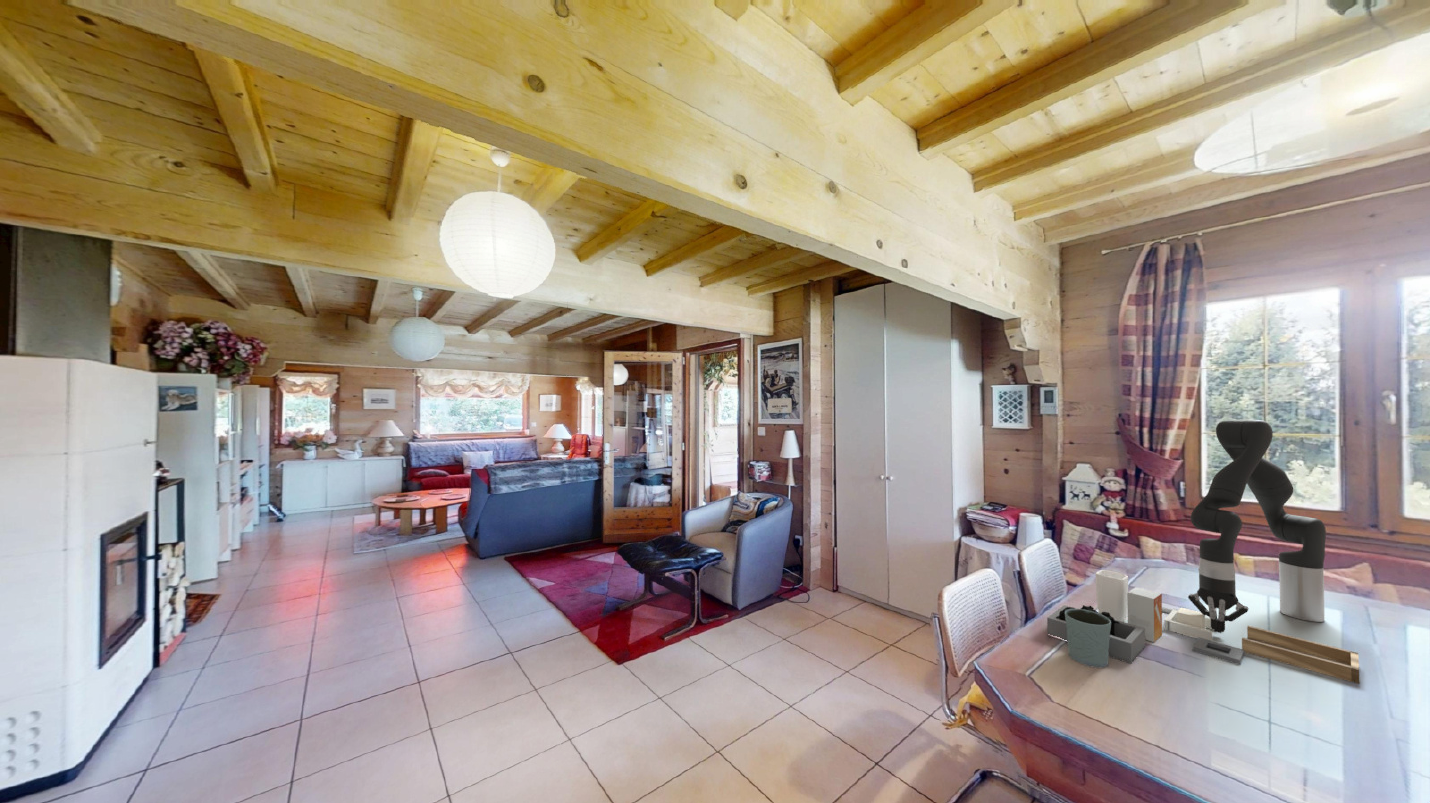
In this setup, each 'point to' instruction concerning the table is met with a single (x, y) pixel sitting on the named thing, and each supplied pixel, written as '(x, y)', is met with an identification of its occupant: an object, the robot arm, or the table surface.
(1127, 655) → the grey rectangular planter box
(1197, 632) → the cream bay
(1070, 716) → the table surface
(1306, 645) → the wooden u-shaped frame
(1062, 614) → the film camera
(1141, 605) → the small box
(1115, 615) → the white rounded prism
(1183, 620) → the cream cube
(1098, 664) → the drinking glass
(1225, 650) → the hole frame
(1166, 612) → the crook tool
